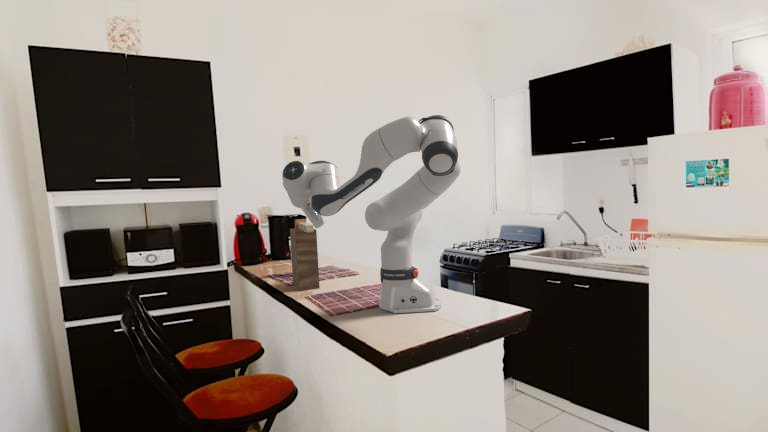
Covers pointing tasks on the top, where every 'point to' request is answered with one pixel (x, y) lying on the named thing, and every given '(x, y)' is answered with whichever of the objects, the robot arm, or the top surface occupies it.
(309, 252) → the stand
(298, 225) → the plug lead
